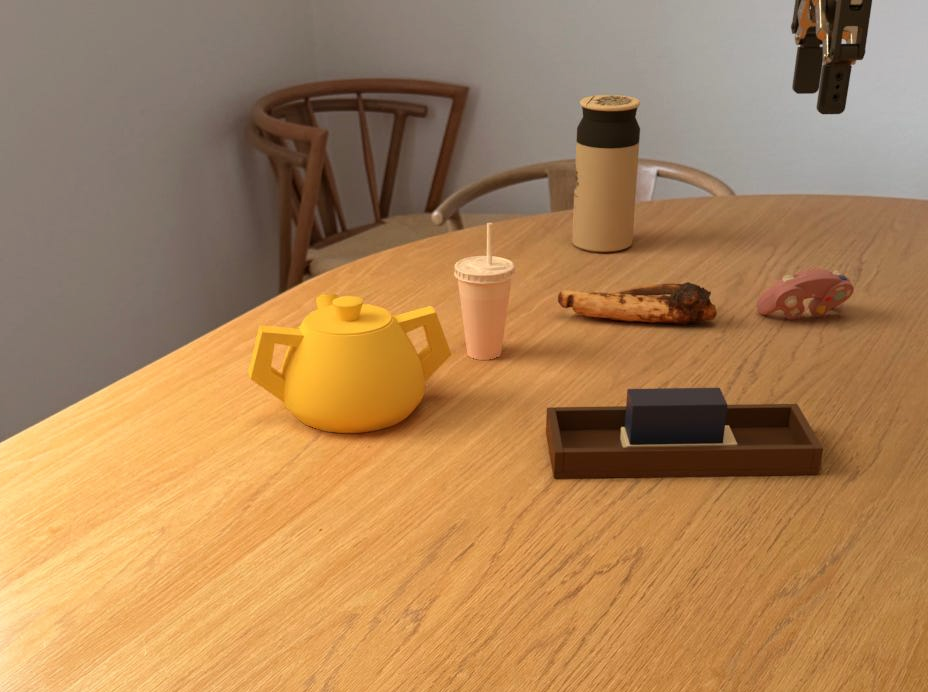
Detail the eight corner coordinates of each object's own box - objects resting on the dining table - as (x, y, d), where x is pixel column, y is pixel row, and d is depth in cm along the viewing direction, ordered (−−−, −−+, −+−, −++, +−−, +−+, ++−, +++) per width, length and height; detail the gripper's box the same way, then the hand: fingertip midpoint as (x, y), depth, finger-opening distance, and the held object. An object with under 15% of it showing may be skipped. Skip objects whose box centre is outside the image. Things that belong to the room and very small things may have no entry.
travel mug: (639, 239, 169) (649, 96, 159) (621, 256, 163) (631, 109, 153) (583, 233, 172) (590, 92, 162) (563, 249, 166) (569, 104, 156)
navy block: (727, 436, 117) (733, 386, 114) (736, 456, 114) (742, 404, 111) (620, 438, 117) (623, 388, 114) (625, 457, 114) (629, 406, 111)
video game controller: (763, 335, 144) (784, 290, 138) (751, 306, 146) (770, 260, 140) (842, 327, 146) (865, 282, 140) (828, 298, 148) (850, 253, 142)
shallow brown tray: (793, 428, 120) (797, 403, 118) (819, 474, 112) (823, 448, 110) (545, 432, 120) (546, 407, 118) (553, 478, 112) (554, 452, 110)
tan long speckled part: (715, 309, 148) (562, 298, 150) (720, 269, 145) (565, 258, 148) (714, 335, 140) (554, 322, 143) (720, 293, 138) (556, 281, 140)
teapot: (418, 355, 136) (415, 253, 130) (472, 422, 121) (472, 311, 115) (234, 379, 131) (222, 275, 125) (268, 452, 117) (256, 338, 110)
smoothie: (496, 368, 133) (497, 235, 125) (443, 358, 135) (441, 226, 127) (523, 348, 137) (527, 218, 129) (472, 338, 140) (472, 210, 132)
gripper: (925, -112, 93) (885, 120, 102) (870, -124, 105) (838, 85, 114) (824, -110, 93) (792, 122, 102) (780, -122, 105) (755, 87, 114)
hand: (816, 102), depth 108 cm, fingers open, 8 cm apart
